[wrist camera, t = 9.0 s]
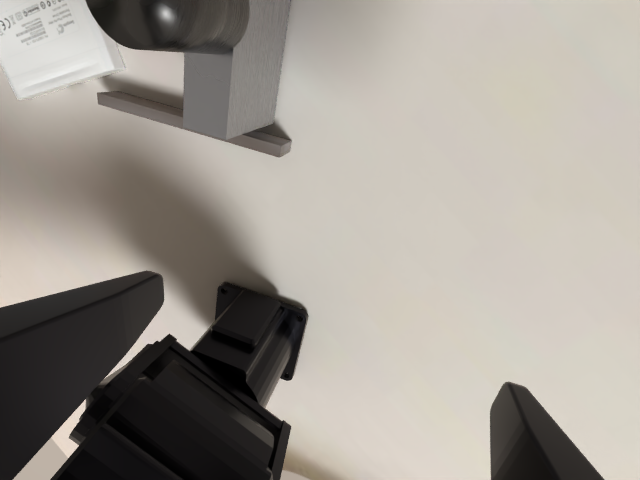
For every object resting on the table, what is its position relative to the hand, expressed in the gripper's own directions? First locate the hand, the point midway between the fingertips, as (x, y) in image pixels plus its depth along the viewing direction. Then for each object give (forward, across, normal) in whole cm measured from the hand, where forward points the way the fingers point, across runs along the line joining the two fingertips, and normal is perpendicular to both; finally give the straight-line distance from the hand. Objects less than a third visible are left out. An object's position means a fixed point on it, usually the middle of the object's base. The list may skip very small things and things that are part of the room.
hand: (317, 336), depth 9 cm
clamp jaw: (+12, +7, -7) cm, 15 cm away
